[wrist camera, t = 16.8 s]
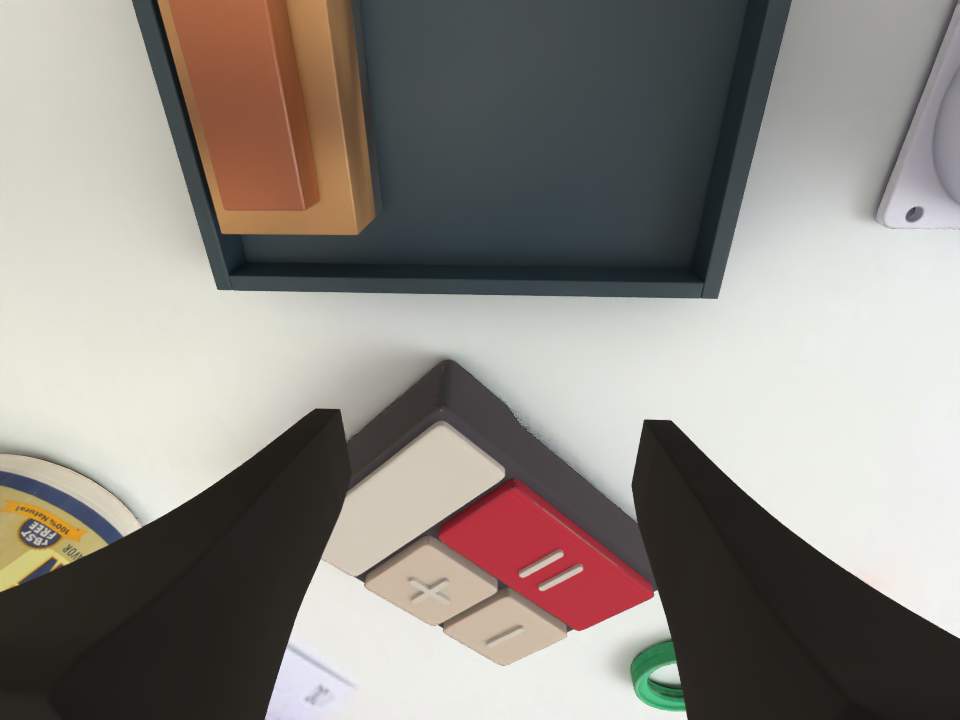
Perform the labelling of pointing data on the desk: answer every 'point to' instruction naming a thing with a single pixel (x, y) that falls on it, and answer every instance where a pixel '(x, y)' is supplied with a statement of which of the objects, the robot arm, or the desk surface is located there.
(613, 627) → the desk surface
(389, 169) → the tray
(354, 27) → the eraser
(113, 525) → the supplement tub
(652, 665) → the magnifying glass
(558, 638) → the calculator
